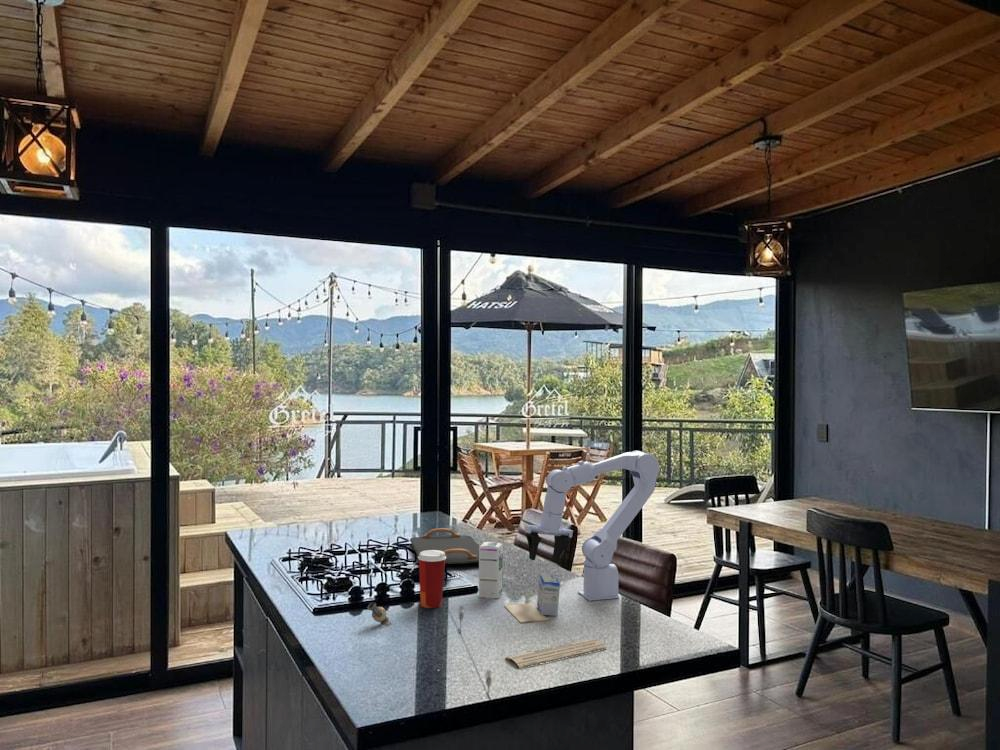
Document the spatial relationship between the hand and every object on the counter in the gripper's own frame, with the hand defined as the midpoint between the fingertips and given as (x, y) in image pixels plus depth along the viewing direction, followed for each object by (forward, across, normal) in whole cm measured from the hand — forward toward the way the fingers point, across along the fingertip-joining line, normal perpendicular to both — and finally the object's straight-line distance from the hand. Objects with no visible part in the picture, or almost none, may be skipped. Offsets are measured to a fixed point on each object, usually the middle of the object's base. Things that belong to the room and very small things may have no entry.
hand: (543, 560), depth 199 cm
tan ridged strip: (+12, +15, +36) cm, 41 cm away
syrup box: (+13, +11, -7) cm, 18 cm away
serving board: (+15, +5, -54) cm, 56 cm away
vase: (+19, +46, +4) cm, 50 cm away
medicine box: (+11, +3, +11) cm, 16 cm away
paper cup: (+16, +29, -6) cm, 33 cm away
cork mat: (+12, +9, +10) cm, 18 cm away
